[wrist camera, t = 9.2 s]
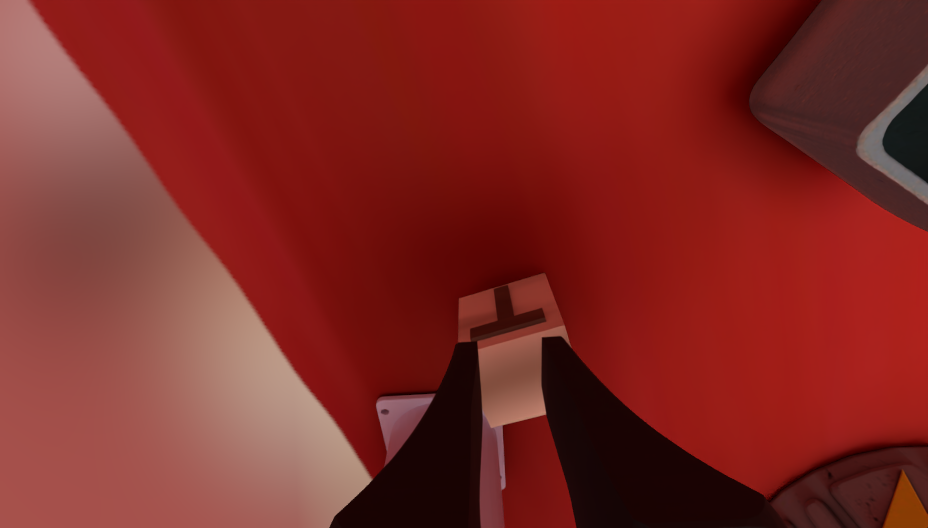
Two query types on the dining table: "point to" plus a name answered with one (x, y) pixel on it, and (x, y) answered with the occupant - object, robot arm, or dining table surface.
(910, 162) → the flower pot
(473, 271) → the dining table surface
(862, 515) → the decorative lamp
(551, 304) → the letter cube
